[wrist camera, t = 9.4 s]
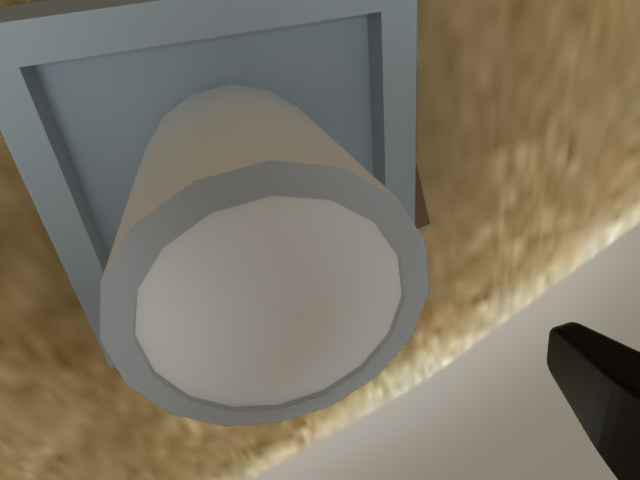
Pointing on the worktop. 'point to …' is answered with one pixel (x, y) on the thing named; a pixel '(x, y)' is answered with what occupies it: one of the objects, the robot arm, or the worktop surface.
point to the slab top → (177, 85)
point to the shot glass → (256, 265)
